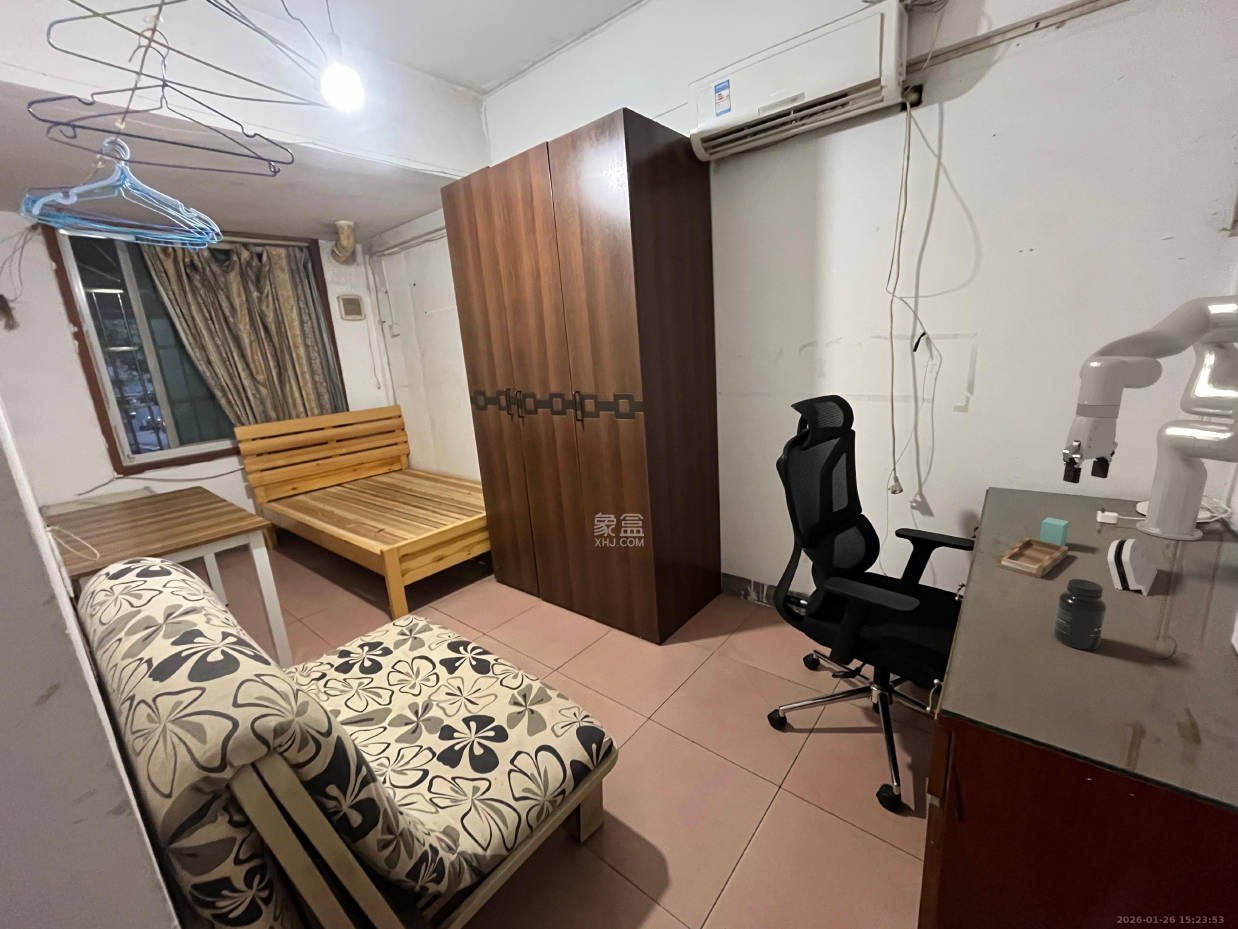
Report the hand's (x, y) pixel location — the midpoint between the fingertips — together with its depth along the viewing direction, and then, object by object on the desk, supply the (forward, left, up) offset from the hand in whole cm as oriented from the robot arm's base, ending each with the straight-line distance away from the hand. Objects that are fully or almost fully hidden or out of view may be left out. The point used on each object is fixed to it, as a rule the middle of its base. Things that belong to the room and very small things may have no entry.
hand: (1084, 479), depth 124 cm
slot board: (+10, -5, -21) cm, 24 cm away
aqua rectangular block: (-5, -5, -21) cm, 22 cm away
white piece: (+5, +12, -21) cm, 25 cm away
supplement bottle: (+43, +12, -21) cm, 49 cm away
